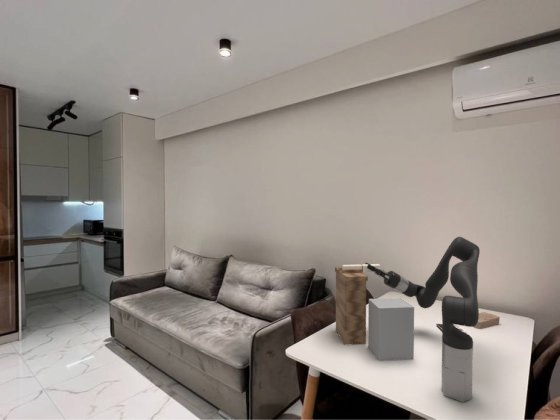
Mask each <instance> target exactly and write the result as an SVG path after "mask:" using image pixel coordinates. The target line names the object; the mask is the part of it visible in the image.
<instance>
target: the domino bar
mask: <svg viewBox="0 0 560 420" xmlns="http://www.w3.org/2000/svg"><path fill="white" fill-rule="evenodd" d="M368 264H370V263H368ZM368 264H365V263H364V264H342V265H341V267H342V270H347V269H362V270H363V273H371V272H372V273H374V271H371V270H370V269H368V268H367V266H368ZM370 265H372V266H374V267H375V269H376V268H378V269H381V270H382V268H381V267H382V265H381V264H379V263H375V264H374V263H373V264H372V263H371V264H370Z"/></svg>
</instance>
